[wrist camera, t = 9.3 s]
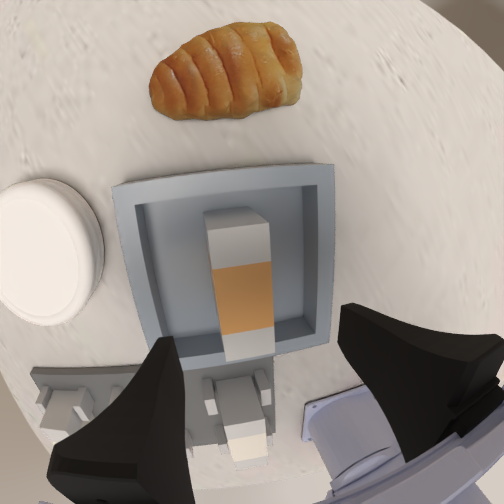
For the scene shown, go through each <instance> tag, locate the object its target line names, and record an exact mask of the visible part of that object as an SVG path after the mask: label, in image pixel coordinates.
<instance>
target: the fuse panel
mask: <svg viewBox="0 0 504 504" xmlns="http://www.w3.org/2000/svg"><path fill="white" fill-rule="evenodd" d="M140 366H141V365H132V366H117V367H96V368H33V369H32V371H31V372H30V375H31V377H32V379H33V380H34V382H35V384H36V385H37V387H38V388H39V390H40V394H39V396H38V398H37V401H36V403H35V404H36V405H37V406H38V408H39V409H40V411H41V412H42V413H43V415H44V413H45V411H46V408H47V406H48V403H49V400H50V398H51V395H52V393H53V391H54V390H63V391H77V394H76V397H75V400H74V403H73V408H74V409H75V411H76V412H77V414H78V415H79V417H80V418H81V420H82V421H90V418H91V414H93V415H94V417H95V418H96V417H97V416H98V415H99V414H100V413H101V412H102V411H103V410H105V409H106V408H107V407H108V406H109V405H110V404H111V403H112V402H113V401H114V400H115V399H116V398H117V397H118V396H119V395H120V393H121V392H122V391H123V390H124V389H125V387H126V386H127V385H128V383H129V382H130V381H131V379H132V378H133V377H134V375H135V374H136V372H137V371H138V369H139V368H140ZM183 374H184V384H185V446H186V454H187V458H193V449H192V446H201V445H209V444H217V443H218V446H219V449H220V452H221V455H222V454H229V449H228V445H227V442H228V440H227V436H226V433H225V429H224V425H223V419H222V414H221V409H220V403H219V398H218V392H217V386H216V381H221V380H227V379H233V378H239V377H245V376H250V375H251V378H252V381H253V384H254V387H255V390H256V393H257V397H258V400H259V403H260V406H261V409H262V412H263V414H264V417H265V426H266V440H267V446H271V445H273V434H272V433H276V432H275V399H274V371H273V356H270V357H265V358H260V359H255V360H249V361H244V362H238V363H232V364H226V365H220V366H214V367H207V368H200V369H192V370H184V371H183Z"/></svg>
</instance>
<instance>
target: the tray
mask: <svg viewBox="0 0 504 504" xmlns="http://www.w3.org/2000/svg"><path fill="white" fill-rule="evenodd" d="M111 188H112V195H113V202H114V208H115V214H116V220H117V226H118V231H119V237H120V242H121V247H122V251H123V256H124V261H125V265H126V270H127V274H128V278H129V282H130V286H131V290H132V294H133V298H134V301H135V305H136V309H137V312H138V316H139V319H140V322H141V326H142V329H143V332H144V335H145V339H146V342H147V345H148V348H149V351H150V350H151V348H152V347H153V345H154V343H155V342H156V340H157V339H158V337H166V336H173V338H174V342H175V345H176V349H177V353H178V356H179V360H180V363H181V367H182V370H183V371H184V370H192V369H200V368H207V367H214V366H220V365H226V364H232V363H238V362H244V361H249V360H255V359H260V358H265V357H270V356H275V355H279V354H284V353H288V352H293V351H297V350H301V349H305V348H309V347H313V346H317V345H321V344H325V343H329V338H330V327H331V314H332V299H333V282H334V256H335V175H334V164H321V163H300V164H279V165H264V166H250V167H238V168H227V169H217V170H208V171H200V172H191V173H184V174H176V175H169V176H162V177H156V178H149V179H143V180H137V181H131V182H126V183H122V184H119V185H116V186H114V187H111ZM248 206H249V207H250V208H251V209H252V210H254V211H255V212H256V213H257V214H259V215H260V216H261V217H262V218H264V219H265V220H266V221H267V222H269V232H270V250H271V269H272V289H273V311H274V335H275V353H271V354H266V355H261V356H256V357H251V358H246V359H240V360H234V361H228V362H226V358H225V353H224V349H223V344H222V340H221V335H220V330H219V325H218V320H217V314H216V308H215V301H214V294H213V287H212V280H211V273H210V266H209V258H208V251H207V243H206V235H205V227H204V218H203V212H206V211H214V210H222V209H230V208H239V207H248Z"/></svg>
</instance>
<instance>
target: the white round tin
mask: <svg viewBox="0 0 504 504" xmlns="http://www.w3.org/2000/svg"><path fill="white" fill-rule="evenodd" d="M103 264H104V244H103V238H102V233H101V230H100V226H99V224H98V221H97V219H96V216H95V214H94V213H93V211H92V209H91V207H90V206H89V205H88V203H87V202H86V200H85V199H84V198H83V197H82V196H81V195H80V194H79V193H78V192H77V191H75V190H74V189H73V188H71V187H70V186H68V185H66V184H64V183H62V182H60V181H56V180H53V179H35V180H30V181H25V182H20V183H16V184H14V185H11V186H9V187H8V188H6V189H5V190H3V191H2V192H1V193H0V300H1V301H2V302H3V304H4V305H5V306H6V307H7V308H8V309H9V310H10V311H12V312H13V313H14V314H15V315H17V316H18V317H20V318H22V319H23V320H25V321H27V322H30V323H33V324H36V325H41V326H57V325H61V324H64V323H66V322H68V321H70V320H71V319H73V318H74V317H76V316H77V315H78V314H79V313H80V312H81V311H82V310H83V308H84V307H85V305H86V304H87V302H88V300H89V299H90V297H91V295H92V294H93V292H94V291H95V289H96V287H97V285H98V283H99V281H100V278H101V275H102V270H103Z"/></svg>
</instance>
